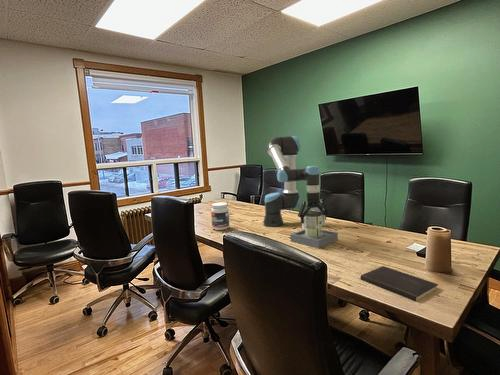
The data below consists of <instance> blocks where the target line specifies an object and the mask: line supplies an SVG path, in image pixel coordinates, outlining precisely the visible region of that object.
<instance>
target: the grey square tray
mask: <svg viewBox="0 0 500 375" xmlns="http://www.w3.org/2000/svg"><path fill="white" fill-rule="evenodd" d="M322 235H323V236H322V237H320V238H309V237H306V236H305V229H304V228H303V229H301V230H299V231H296V232H293V233H290V235H289V236H290V242H292V243H296V244H299V245H303V246H308V247H311V248H315V249H320V248H322V247H326V246H328V245H329V244H332V243H334V242H336V241H339V232H336V231H332V230H326V229H322Z"/></svg>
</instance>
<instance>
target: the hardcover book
mask: <svg viewBox="0 0 500 375" xmlns="http://www.w3.org/2000/svg"><path fill="white" fill-rule="evenodd" d="M360 281H363V282H366V283H368V284H370V285H373V286H375V287H378V288H381V289H384V290H385V291H388V292H391V293H393V294H396V295H398V296H400V297H404V298H405V299H408V300H411V301H413V302H415V303H416V302H417V301H419V300H420V299H421V298H423V297H425V296H427V295H429V294H431V293H432V292H434V291H435V290H437V289H438V288H437V287H438V286H439V283H435V282H433V281H429V280H426V279H424V278H420V277H417V276H414V275H411V274H408V273H405V272H402V271H399V270H396V269H393V268H391V267H388V266H384V265H381V266H380V267H377V268H375V269H373V270H371V271H367V272H366V273H363V274H361V275H360Z"/></svg>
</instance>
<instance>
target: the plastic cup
mask: <svg viewBox="0 0 500 375" xmlns="http://www.w3.org/2000/svg"><path fill="white" fill-rule="evenodd" d="M322 209H323V208H322ZM323 210H324V209H323ZM310 211H318V212H321V211H320V210H319V209H318V208H317V207H316V208H315V207H314V208H311V209H310ZM322 214H323V213H322Z"/></svg>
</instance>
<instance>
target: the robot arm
mask: <svg viewBox="0 0 500 375" xmlns="http://www.w3.org/2000/svg"><path fill="white" fill-rule="evenodd" d="M266 152H267V153H268V155H269V156H270V157H271V159H272V161H273V163H274V165H275V168H276V169H277V172H276V179H277V181H278V183H284V189H283V190H282V192H281V193H282V194H281V193H280V192H270V193H268V194H266V195H265V196H264V210H265V211H264V214H265V215H264V219H263V222H262V223H263V226H264V227H270V228H275V227H281V226H284V220H283V217H282V212H281V211H285V210H295V209H299V211H298V213H297V218H300V222H301V229H303V230H304V229H306V225H305V215H306V214H307V212H309V211H310V210H311V209H312V208H318V209H319V210H320V211H321V212H322V213H323V214H322V227H326V221H327V216H328V214H330V210H329V209H328V207H327V204H326V203H325V199H323V198H321V194H320V190H321V189H320V167H319V166H318V165H308V166H306V167H304V168H296V166H297V164H296V157H298V155H299V154H298V153H299V152H301V142H300V139H299V137H297V136H296V135H295V136H293V135H290V136H275V137H273V138H271V140H269V142H268V143H267V145H266ZM305 181H306V200H302V195H301V193H299V191H298V189H297V182H305ZM320 204H321V205H320ZM323 209H324V210H323Z"/></svg>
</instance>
